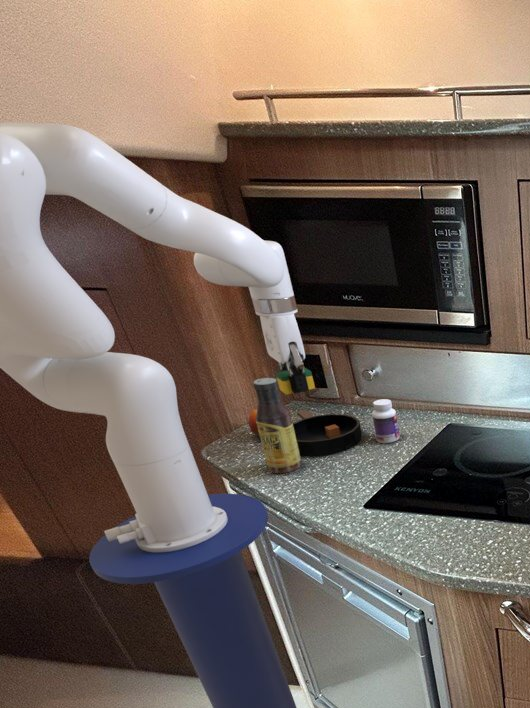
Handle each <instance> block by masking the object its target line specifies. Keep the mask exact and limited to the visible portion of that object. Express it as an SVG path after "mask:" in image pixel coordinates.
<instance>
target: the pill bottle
mask: <svg viewBox="0 0 530 708" xmlns="http://www.w3.org/2000/svg"><path fill="white" fill-rule="evenodd" d="M372 406H373V411H372V412H371V417H372V423H373V428H374V435H375V439H376V440H375V441H377V442H378V443H381V444H391V443H394V442H397V441H398V440H400V437H401V436H400V435H401V434H400V428H399V422H398V417H397V411H396V410H395V409H394V408H393V404H392V400H390V399H387V398H382V399H377V400H374V401H373V402H372Z"/></svg>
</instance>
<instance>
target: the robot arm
mask: <svg viewBox="0 0 530 708" xmlns="http://www.w3.org/2000/svg"><path fill="white" fill-rule="evenodd" d="M45 195H52V196H69V197H72V198H75V199H77V200H78V201H80V202H82V203H84V204H86V205H87V206H89V207H91V208H92V209H93V210H96V211H97V212H99V213H101V214H103V215H104V216H106V217H108V218H110V219H112V220H113V221H115V222H116V223H118V224H120V225H121V226H123V227H124V228H126V229H128V230H129V231H131V232H133V233H134V234H136V235H138V236H140V237H141V238H143V239H145V240H147V241H150V242H153V243H155V244H159V245H162V246H166V247H169V248H173V249H178V250H181V251H186V252H191V253H194V255H193V266H194V268H195V270H196V272H197V274H198V275H200V276H201V277H202V278H203V279H204V280H206V281H207V282H210V283H212V284H215V285H219V286H225V287H247V288H248V290H249V293H250V297H251V301H252V304H253V305H252V306H253V309H254V311H255V315H256V316H259V319H260V325H261V330H262V335H263V339H264V343H265V348H266V352H267V355H268V356H270V358H272V359H273V360H274V361H276V362H278V367H279V369H280V372H282V371H289V374H290V376H288V377H289V381H290V385H291V389H292V392H293V393H292V394H300V393H305V392H308V391H310V390H309V388H308V384H307V380H306V376H305V371H304V366H305V365H304V362H303V361H305V359H306V352H305V351H306V350H305V347H304V343H303V339H302V335H301V332H300V329H299V326H298V322H297V320H296V319H297V318H296V316H295V314H296V313H298V307H297V306H298V305H297V302H296V298H295V297H296V296H295V294H294V290H293V285H292V281H291V277H290V276H291V275H290V273H289V267H288V264H287V260H286V256H285V252H284V249H283V247H282V245H281V244H280V243H278V242H277V241H273V240H264V239H262V238H261V237H260V236H259V235H258V234H256V233H255V232H254V231H252V230H251V229H249V228H248V227H247V226H244V224H242V223H239V222H238V221H235V220H234V219H231V218H229V217H227V216H225V215H222V214H220V213H218V212H215V211H213V210H212V209H209V208H207V207H205V206H203V205H201V204H199V203H196V202H194V201H192V200H189V199H187V198H184V197H182V196H180V195H178V194H177V193H175V192H173V191H172V190H171V189H170V188H168V187H167V186H165V185H164V184H162V183H161V182H160V181H158V180H157V179H155V178H154V177H152V175H150V174H148V173H147V172H146V171H144V170H143V169H142V168H140V167H139V166H138V165H136V164H135V163H134V162H132V161H131V160H129V159H128V158H126V157H125V156H124V155H123V154H121V153H120V152H118V151H117V150H115V149H114V148H113V147H111V146H110V145H109V144H107V143H106V142H105V141H103V140H102V139H100V138H99V137H97V136H96V135H94V134H92V133H91V132H89V131H87V130H84V129H83V128H80V127H76V126H74V125H71V124H70V125H69V124H63V123H44V122H42V123H39V122H0V369H1V370H2V371H3V372H4V373H6V374H7V375H8V376H9V377H10V378H11V379H13V380H14V381H15V382H16V383H17V384H19V385H20V386H21V387H22V388H24V389H25V390H26V391H27V392H29V393H30V394H31V395H32V396H34V397H35V398H36V399H37V400H40V402H42V403H44V404H45V405H47V406H49V407H52V408H54V409H57V410H61V411H64V412H65V411H66V412H71V413H79V414H80V413H82V414H90V415H98V416H104V417H105V418H106V421H107V422H106V423H107V424H106V425H107V426H106V433H105V445H106V448H107V451H108V454H109V456H110V458H111V460H112V462H113V465H114V466H115V468H116V471H117V474H118V476H119V478H120V480H121V482H122V484H123V486H124V489H125V491H126V493H127V495H128V498H129V499H130V501H131V504H132V506H133V508H134V511H135V514H134V517H135V516H136V520H133V521H130V522H129V523H130V524H127V525H124V526H121V527H117V526H115V527H116V528H115V527H112V528H109V529H105V530H103V533H104V535H106V537H107V539H108V541H109V542H110V541H113V540H116V539H118V541H119V543H120V544H122V543H125V542H128V541H130V540H133V539H136V543H137V545H138V547H139V548H140V549H142V550H144V551H147V552H171V551H176V550H181V549H185V548H188V547H191V546H194V545H197V544H199V543H201V542H204V541H206V540H208V539H210V538H211V537H213V536H214V535H216V534H217V533H219V532H220V531H221V530H222V529H223V528H224V527H225V525H226V524H227V521H228V517H227V515H226V512H225V511H224V510H222V509H221V508H217V507H212V505H211V502H210V500H209V497H208V495H209V493H208V491H207V489H206V487H205V484H204V481H203V478H202V476H201V473H200V470H199V468H198V465H197V462H196V460H195V457H194V454H193V451H192V449H191V445H190V443H189V440H188V439H187V435H186V433H185V430H184V427H183V424H182V420H181V416H180V412H179V406H178V397H177V396H178V394H177V387H176V383H175V380H174V378H173V376H172V374H171V373H170V372H169V370H168V369H167V368H166V367H165V366H163V365H162V364H161V363H160V362H157V361H156V360H154V359H151V358H149V357H146V356H143V355H142V356H141V355H138V354H133V353H132V354H131V353H123V352H111V351H110V350H111V348H112V347H113V346H114V344H115V339H116V333H115V329H114V327H113V325H112V323H111V321H110V320H109V318H108V317H107V316H106V314H105V313H104V311H103V310H102V309H101V308H100V307H99V306H98V305H97V303H95V302H94V300H93V299H92V298H91V296H89V294H87V292H86V291H85V290H84V289H83V288H82V287H81V286H80V285H79V283H78V282H77V281H76V280H75V279H74V278H73V277H72V275H70V273H69V272H68V271H67V270H66V269H65V268H64V267H63V266H62V265H61V263H60V262H59V261H58V259H56V257H55V256H54V254H53V253H52V252H51V251H50V249H49V248H48V246H47V245H46V243H45V241H44V238H43V235H42V231H41V212H42V211H41V210H42V207H43V202H44V199H45Z"/></svg>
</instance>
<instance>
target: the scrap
mask: <svg viewBox="0 0 530 708" xmlns="http://www.w3.org/2000/svg"><path fill="white" fill-rule="evenodd" d="M325 430H326V434H327V436H328V437H329V438H333V437H337V436H341V434H340V430H339V427H338V426H337V425H335V424H334V425H330V426H327V427H325Z"/></svg>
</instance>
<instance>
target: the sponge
mask: <svg viewBox="0 0 530 708" xmlns="http://www.w3.org/2000/svg"><path fill="white" fill-rule="evenodd" d="M303 368H304V371H305V376H306V380H307V384H308V388H309V390H308V391H310V390H314V389H316V386H315V382H314V378H313V374H312V371H311V370H310V369H308V368H307V367H304V366H303ZM275 376H276V380H277V383H278V387H279V390H280V391H281V392H282V393H284V395H285V396H287V395H291V394H294V393H293V392H292V389H291V385H290V381H289V377H288V376H290V374H289V371H282V372H281V371H278V372H275Z"/></svg>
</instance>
